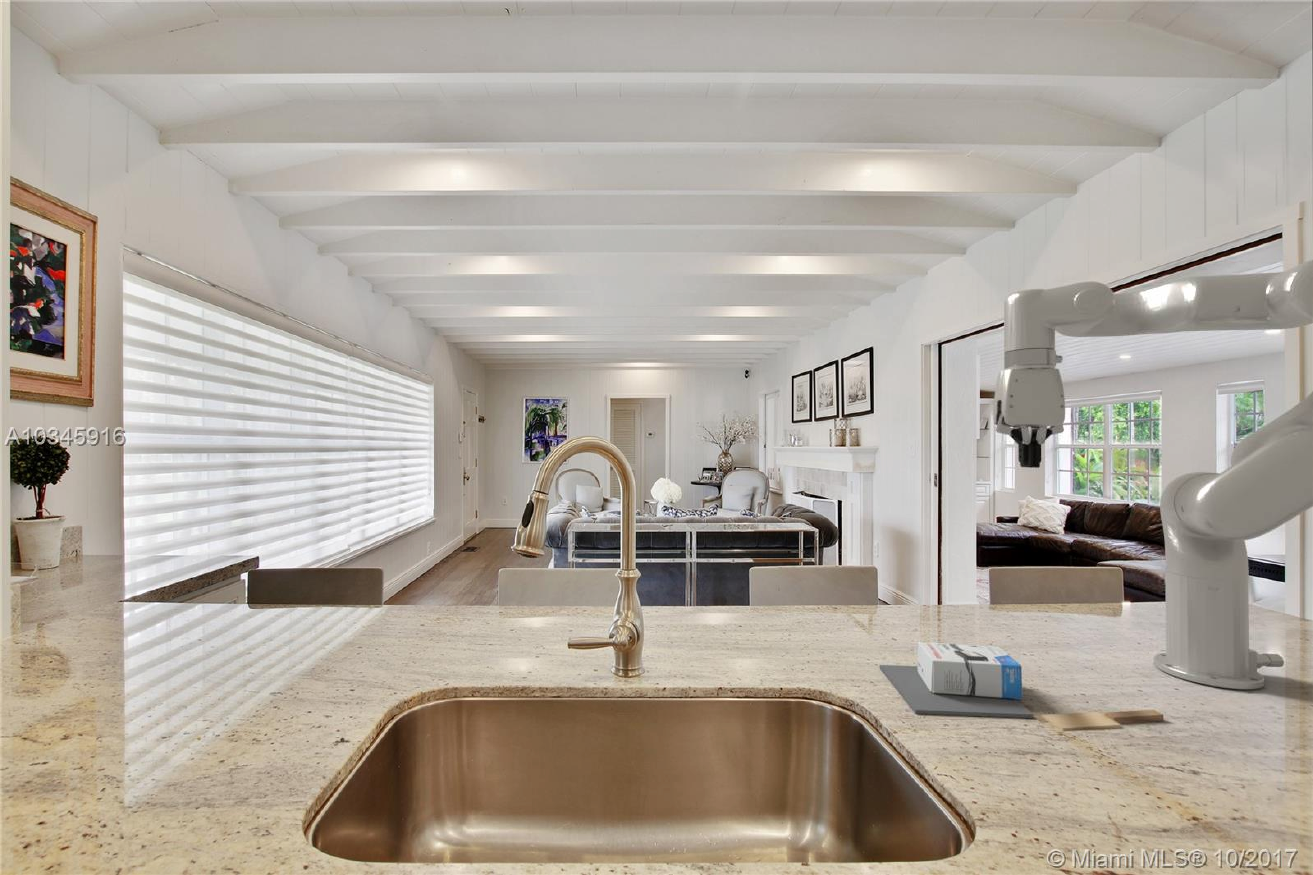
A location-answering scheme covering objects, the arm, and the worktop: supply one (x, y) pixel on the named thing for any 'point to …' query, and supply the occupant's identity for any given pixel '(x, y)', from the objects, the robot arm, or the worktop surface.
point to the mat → (948, 697)
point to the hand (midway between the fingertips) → (1029, 467)
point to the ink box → (969, 670)
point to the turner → (1101, 719)
